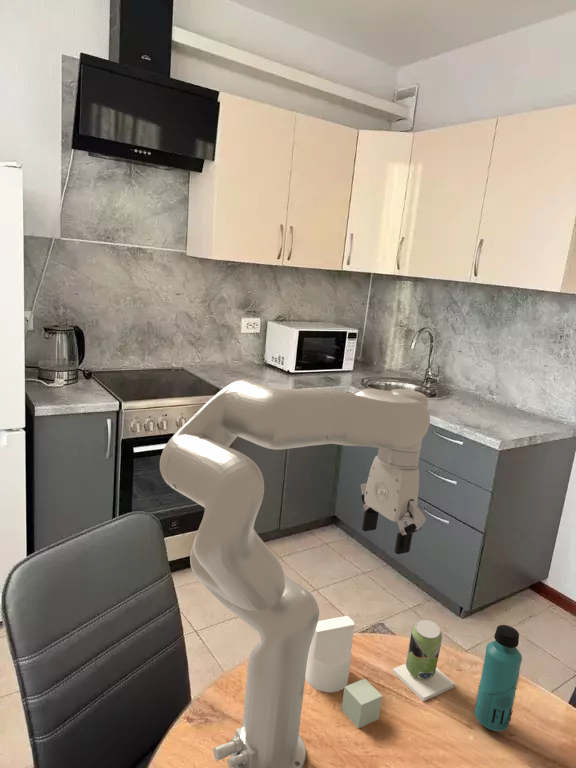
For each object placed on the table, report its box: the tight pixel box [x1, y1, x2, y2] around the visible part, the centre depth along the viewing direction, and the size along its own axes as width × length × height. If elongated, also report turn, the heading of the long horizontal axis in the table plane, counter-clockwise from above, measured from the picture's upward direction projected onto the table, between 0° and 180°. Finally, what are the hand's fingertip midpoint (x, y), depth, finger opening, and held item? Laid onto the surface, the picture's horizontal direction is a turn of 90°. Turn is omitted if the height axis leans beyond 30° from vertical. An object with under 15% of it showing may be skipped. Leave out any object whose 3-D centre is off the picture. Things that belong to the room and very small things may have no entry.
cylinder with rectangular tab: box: [305, 615, 356, 693], centre depth 112 cm, size 9×9×12 cm
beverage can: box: [405, 618, 443, 680], centre depth 114 cm, size 6×7×12 cm
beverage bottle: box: [474, 624, 523, 732], centre depth 103 cm, size 6×7×20 cm
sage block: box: [340, 678, 383, 729], centre depth 104 cm, size 5×5×5 cm
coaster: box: [392, 663, 456, 702], centre depth 115 cm, size 9×9×1 cm
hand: (384, 540), depth 107 cm, fingers open, 9 cm apart
